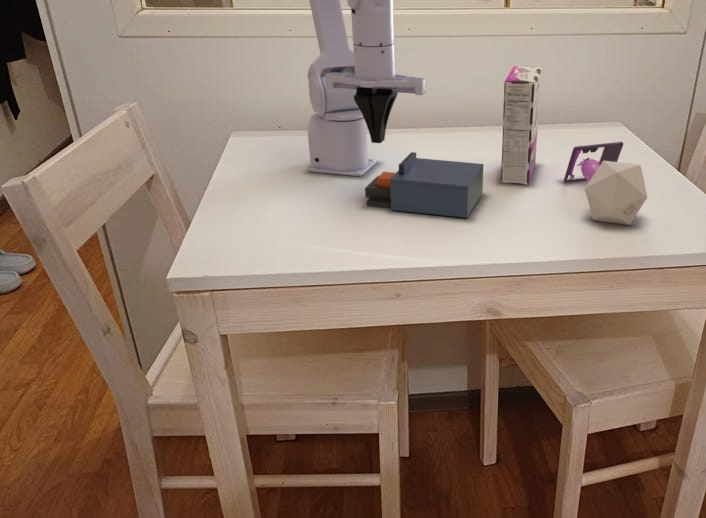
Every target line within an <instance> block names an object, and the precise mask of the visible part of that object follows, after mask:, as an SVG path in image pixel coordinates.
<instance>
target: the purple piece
mask: <svg viewBox="0 0 706 518" xmlns="http://www.w3.org/2000/svg"><path fill="white" fill-rule="evenodd" d="M624 144H625V143H624V142H623V141H615V142H606V143H597V144H596V143H595V144H588V145H578V146H574V147H573V149H572V151H571V155H570V157H569V161H568V165H567V168H566V170H565V171H566V172H565V174H564V178H563V182H564V183H568V182H579V181H588V182H589V181H590V180H591V178H592V177H593V175H594V174H595V172H596V171H597V169H598V168H599V166H600V165H601V163H602V162H603V161H612V162H618V160H619V158H620V155H621V152H622V150H623V146H624ZM599 148H603V150H602V153H601V155H600V159H599V160H597V159H596V158H592V157H587V158H583V160H582V161H580V162H579V163H578V164H577V167H579V166H581V167H579V169H580V170H581V174H582V177H576V178H575V174H573V173H574V168H575V166H576V163H577V160H578V158H579V156H580V154H581V153H582V154H589V152H590V153H596V152H597V150H599Z"/></svg>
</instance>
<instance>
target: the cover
mask: <svg viewBox="0 0 706 518" xmlns="http://www.w3.org/2000/svg"><path fill="white" fill-rule="evenodd" d="M394 173H395V174H394V175H393V176H392V177H391V178H390V190H391V209H390V210H391V211H398V212H408V213H417V214H427V215H437V216H445V217H446V216H447V217H455V218H464V219H467V218H468V217H469V215H470V214H471V213H472V211H473V210H474V208H475V206H476V205H477V203H478V202H479V200H480V199H481V197H482V195H483V189H484V163H478V162H477V163H475V162H467V161H466V162H465V161H453V160H443V159H431V158H422V157H421V158H420V157H417V152H414V151H413V152H412V151H411V152H410V153H408V155H407V156H406V157H405V158H404V159H403V160H402V161H401V162H399V164H398V170H396V172H394Z"/></svg>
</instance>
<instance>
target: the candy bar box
mask: <svg viewBox="0 0 706 518" xmlns="http://www.w3.org/2000/svg"><path fill="white" fill-rule="evenodd" d="M541 75H542V67H540V66H527V65H525V66H522V65H517V66H513V67H512V68H511V70H510V71H509V73H508V75H507V76H506V78H505V80H504V81H503V84H504V85H503V86H504V87H503V109H502V110H503V113H502V114H503V116H502V142H501V144H502V146H501V169H500V171H501V173H500V183H501V184H507V185H519V186H520V185H521V186H529V185H530V181H531V179H532V176H533V173H534V169H535V167H536V159H537V141H538V126H539V125H538V124H539V112H540V111H539V110H540V95H541V93H540V92H541V78H542V77H541Z"/></svg>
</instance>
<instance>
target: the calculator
mask: <svg viewBox="0 0 706 518" xmlns="http://www.w3.org/2000/svg"><path fill="white" fill-rule="evenodd" d="M380 175H381V174H379V175H377V176H376V177H375V178H373V180H372V181H370V183H368V184H367V185H366V186H365V187H364V191H365V192H364V195H365V196H364V197H365V198H366V199H367V200H366V207H368V208H379V209H388V210H391V190H390V188H388V187H378V186H377V178H378V177H379V176H380Z"/></svg>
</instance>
